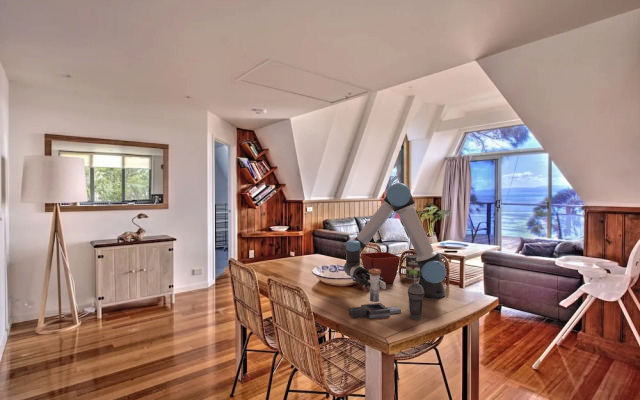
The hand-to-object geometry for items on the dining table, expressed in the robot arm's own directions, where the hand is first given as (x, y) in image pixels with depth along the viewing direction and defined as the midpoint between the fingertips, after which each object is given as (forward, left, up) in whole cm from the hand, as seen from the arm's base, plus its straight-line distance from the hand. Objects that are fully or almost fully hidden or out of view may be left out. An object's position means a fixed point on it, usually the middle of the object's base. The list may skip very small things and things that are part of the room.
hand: (379, 286), depth 150 cm
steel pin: (+4, -4, -8) cm, 10 cm away
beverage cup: (-15, -6, -14) cm, 22 cm away
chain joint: (+3, -4, -14) cm, 15 cm away
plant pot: (+15, -60, -14) cm, 64 cm away
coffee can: (-3, -78, -14) cm, 79 cm away
